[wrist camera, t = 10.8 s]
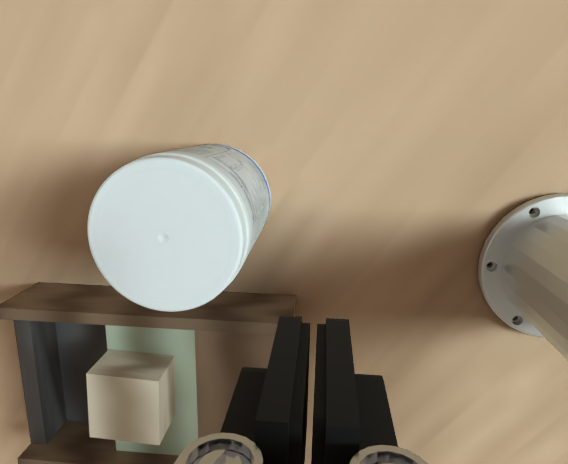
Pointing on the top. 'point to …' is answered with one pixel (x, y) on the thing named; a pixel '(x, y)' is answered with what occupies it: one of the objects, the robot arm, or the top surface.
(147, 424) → the birch block
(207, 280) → the supplement tub
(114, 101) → the top surface
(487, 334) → the top surface
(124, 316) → the lane deck
